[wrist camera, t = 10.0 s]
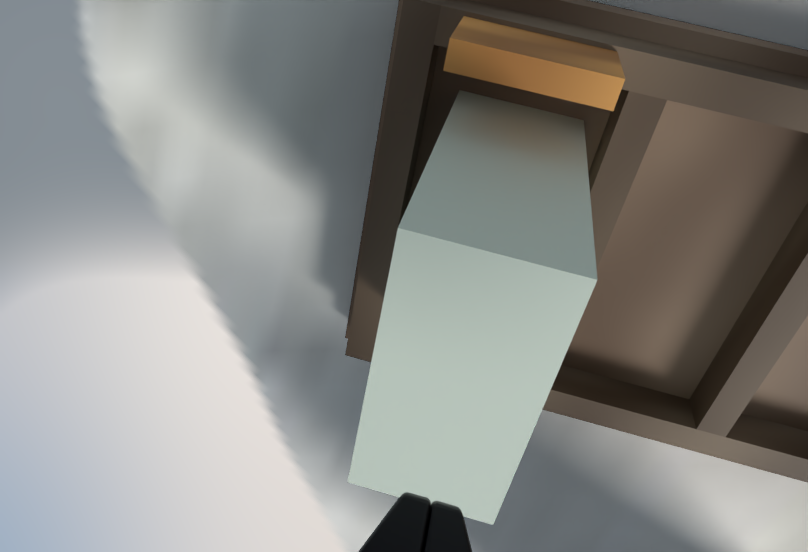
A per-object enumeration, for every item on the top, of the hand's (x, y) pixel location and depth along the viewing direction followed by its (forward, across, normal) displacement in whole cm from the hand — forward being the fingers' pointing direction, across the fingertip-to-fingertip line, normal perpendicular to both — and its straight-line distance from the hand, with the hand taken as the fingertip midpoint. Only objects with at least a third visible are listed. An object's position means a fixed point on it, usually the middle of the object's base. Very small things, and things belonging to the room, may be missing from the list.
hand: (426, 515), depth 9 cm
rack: (+10, -5, 0) cm, 11 cm away
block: (+9, 0, 0) cm, 9 cm away
